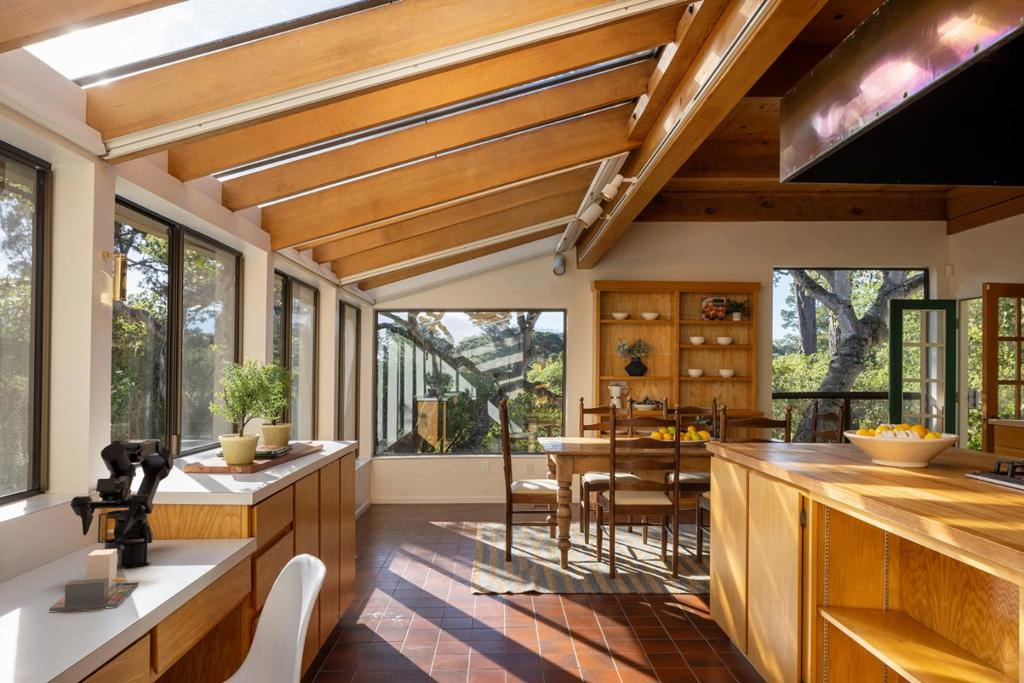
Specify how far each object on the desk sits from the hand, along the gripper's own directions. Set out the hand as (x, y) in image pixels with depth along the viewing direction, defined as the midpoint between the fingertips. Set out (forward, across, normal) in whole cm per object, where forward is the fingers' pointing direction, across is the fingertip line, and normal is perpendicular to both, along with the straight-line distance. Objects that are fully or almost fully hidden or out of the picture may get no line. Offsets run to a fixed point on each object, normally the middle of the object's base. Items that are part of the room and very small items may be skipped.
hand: (103, 534), depth 181 cm
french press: (-17, -11, +40) cm, 45 cm away
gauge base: (+17, +3, 0) cm, 17 cm away
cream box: (+14, +3, +2) cm, 14 cm away
